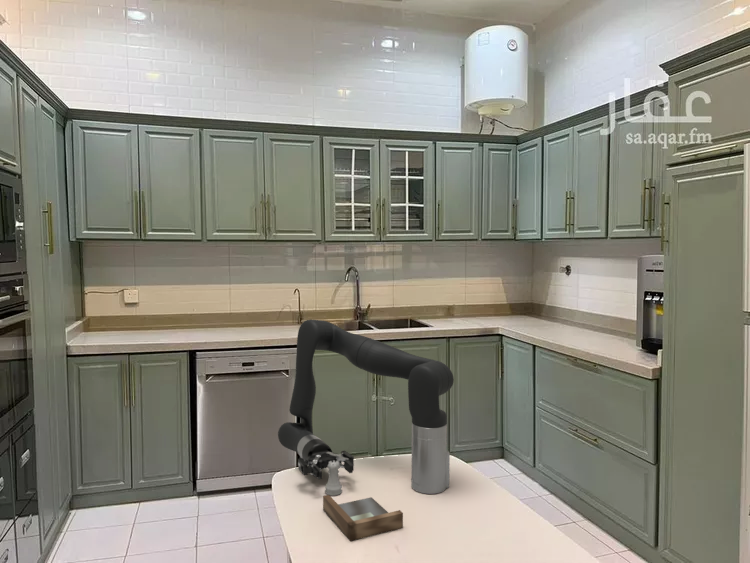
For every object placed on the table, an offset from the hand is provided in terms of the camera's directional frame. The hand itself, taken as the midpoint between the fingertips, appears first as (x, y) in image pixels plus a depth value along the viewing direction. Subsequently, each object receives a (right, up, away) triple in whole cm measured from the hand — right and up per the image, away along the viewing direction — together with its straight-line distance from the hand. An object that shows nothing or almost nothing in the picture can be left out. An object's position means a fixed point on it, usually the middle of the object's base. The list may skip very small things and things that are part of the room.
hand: (336, 472), depth 139 cm
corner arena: (+7, -7, -12) cm, 15 cm away
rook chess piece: (-1, -6, +2) cm, 6 cm away
